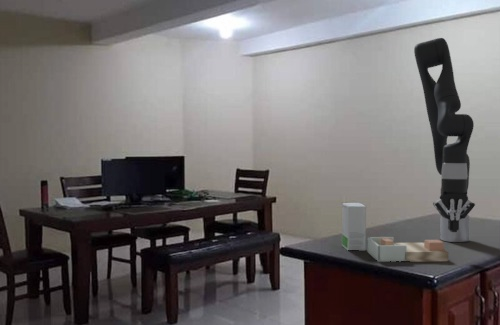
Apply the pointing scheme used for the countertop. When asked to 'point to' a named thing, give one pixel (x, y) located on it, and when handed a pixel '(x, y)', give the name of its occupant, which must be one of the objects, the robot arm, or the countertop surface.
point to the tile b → (434, 245)
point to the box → (386, 250)
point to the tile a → (386, 242)
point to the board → (423, 253)
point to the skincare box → (353, 226)
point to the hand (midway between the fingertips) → (453, 231)
